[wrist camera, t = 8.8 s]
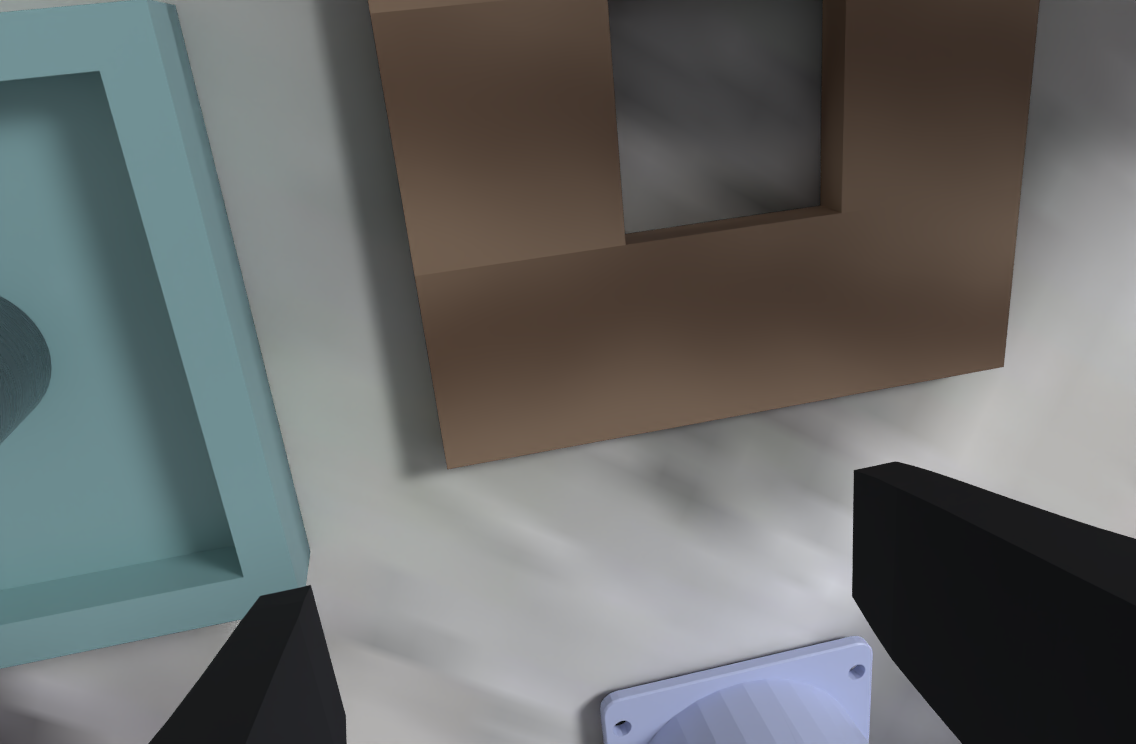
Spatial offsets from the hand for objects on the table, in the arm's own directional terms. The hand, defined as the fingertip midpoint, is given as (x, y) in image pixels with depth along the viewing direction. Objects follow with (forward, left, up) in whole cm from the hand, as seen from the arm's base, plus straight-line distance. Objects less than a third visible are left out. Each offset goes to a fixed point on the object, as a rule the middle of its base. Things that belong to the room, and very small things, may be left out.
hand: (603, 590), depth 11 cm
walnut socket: (+5, -5, -9) cm, 12 cm away
